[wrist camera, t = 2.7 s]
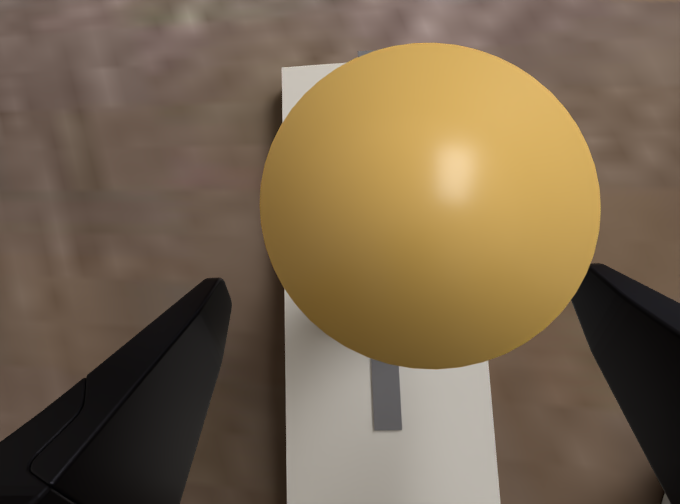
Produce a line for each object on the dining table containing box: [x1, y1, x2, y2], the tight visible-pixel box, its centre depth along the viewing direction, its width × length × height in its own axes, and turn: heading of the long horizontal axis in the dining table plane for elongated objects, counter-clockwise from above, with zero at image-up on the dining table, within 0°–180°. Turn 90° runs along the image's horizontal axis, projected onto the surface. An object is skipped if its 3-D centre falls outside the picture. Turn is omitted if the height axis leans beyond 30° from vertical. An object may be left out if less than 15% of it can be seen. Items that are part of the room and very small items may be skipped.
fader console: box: [282, 50, 500, 504], centre depth 17 cm, size 22×9×2 cm, turn 2°
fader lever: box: [260, 43, 601, 370], centre depth 10 cm, size 5×4×11 cm
